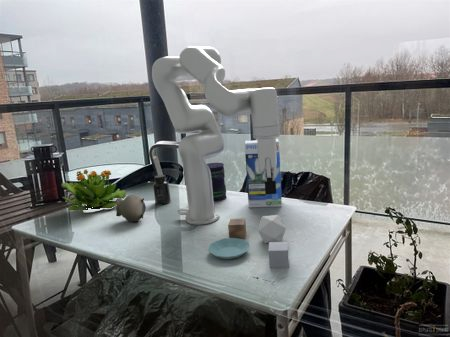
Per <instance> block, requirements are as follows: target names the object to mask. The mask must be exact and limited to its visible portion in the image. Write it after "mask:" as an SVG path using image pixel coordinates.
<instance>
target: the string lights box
mask: <svg viewBox="0 0 450 337" xmlns="http://www.w3.org/2000/svg"><path fill="white" fill-rule="evenodd" d="M276 151H277V164H276V171H275V172H274V177H275V180H276V194H265V182H264V181H265V174H264V171H263V172H262V173H259V163H258V149H257V139H255V140H245V143H244V153H245V154H244V155H245V171H246V185H247V186H246V188H247V200H248V208H276V207H282V203H283V202H282V200H283V198H282V176H281V157H280V156H281V155H280V142H279V138H276Z"/></svg>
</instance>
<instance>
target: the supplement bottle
mask: <svg viewBox="0 0 450 337" xmlns="http://www.w3.org/2000/svg"><path fill="white" fill-rule="evenodd" d="M153 180H154V183H153V184H152V189H153V196H154V202H155V204H156V203H157V204H156V205H158V204H162V205H166V204H169V203H171V202H172V199H171V192H170V185H169V184H170V183H169V182H168V181H167V178H166V175H165V174H159V175H155V176H154V178H153Z"/></svg>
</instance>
